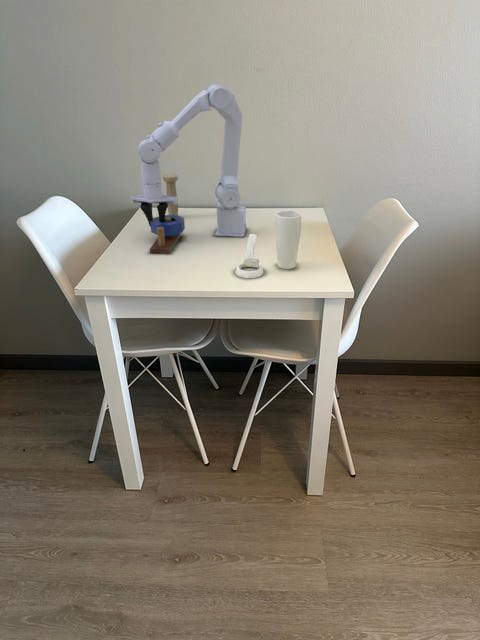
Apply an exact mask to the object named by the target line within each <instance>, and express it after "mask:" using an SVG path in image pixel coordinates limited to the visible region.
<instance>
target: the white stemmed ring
mask: <svg viewBox="0 0 480 640" xmlns="http://www.w3.org/2000/svg"><path fill="white" fill-rule="evenodd" d="M258 237H259V236H258V235H257V234H256V233H255V234H254V233H250V234H249V235H248V239H247V244H246V248H245V253H244V257H243V260H242V261H243V262H242V263H239V264H238V265H237V266H236V268H235V271H234V272H235V275H236V276H237V277H240V278H244V279H256V278H259V277H261V276H262V275H264V269H263V267H262V266H261V265H260V259H259V257H258V256H255V251H256V247H257V242H258ZM244 268H254V269H256V270H243V269H244Z"/></svg>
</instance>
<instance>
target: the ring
mask: <svg viewBox="0 0 480 640" xmlns="http://www.w3.org/2000/svg"><path fill="white" fill-rule="evenodd" d="M167 217H170V218H171V222H169V223H165V218H167ZM165 218H164V223H162V222H159V216H156V217H153V219H152V220H151V221H150V226H151V227H150V226H149V227H150V232H151V233H152V234H154V235H156V236H158V234H157V227H163V228H164V236H172V235H175V234H179V233H181V234H182V233H183V232H184V231H185V229H186V225H185V217H182V216H180V215H179V214H178V215H169V214H165Z"/></svg>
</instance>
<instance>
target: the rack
mask: <svg viewBox="0 0 480 640" xmlns="http://www.w3.org/2000/svg"><path fill="white" fill-rule="evenodd" d="M169 222H171V218H170V217H167V218H165V223H169ZM157 234H158V235H157V238H156V240H155V241H154V242H153V243H152V245H151V246H150V248H149V254H160V255H170V254H171V253H172V251H173V250H174V248H175V246H176V245H177V243H178V242H179V240H180V238H181V237H182V233H179V234H175V235H172V236H164V228H163V227H157Z"/></svg>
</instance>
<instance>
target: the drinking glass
mask: <svg viewBox="0 0 480 640" xmlns="http://www.w3.org/2000/svg"><path fill="white" fill-rule="evenodd" d="M301 230H302V213H301V212H300V211H297V210H293V209H292V210H291V209H285V210H284V209H283V210H279V211H277V212H276V213H275V240H276V241H275V243H276V265H277V267H278V268H280V269H282V270H293V269H295V268H296V266H297V262H298V261H297V260H298V259H297V258H298V251H299V245H300V238H301Z"/></svg>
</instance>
